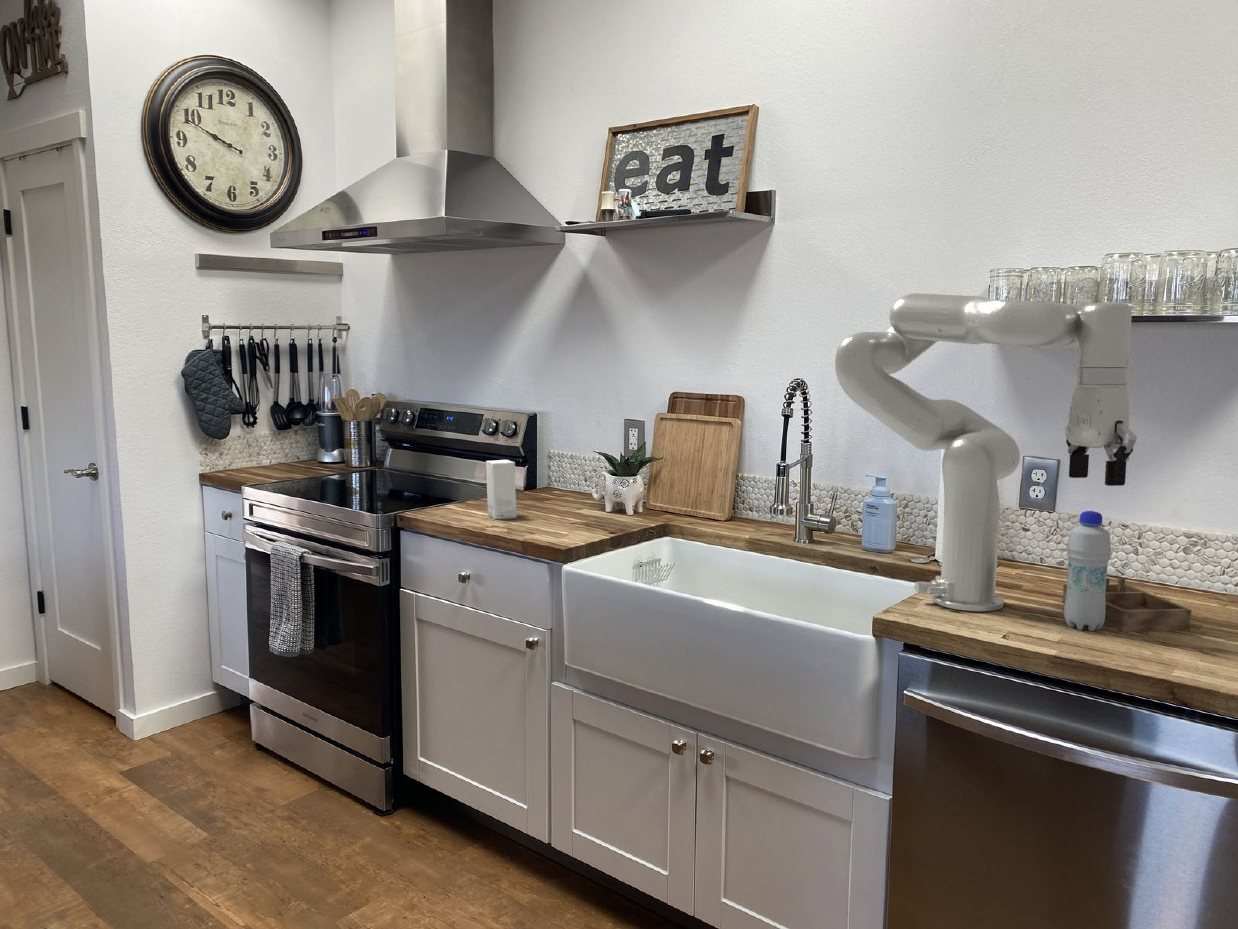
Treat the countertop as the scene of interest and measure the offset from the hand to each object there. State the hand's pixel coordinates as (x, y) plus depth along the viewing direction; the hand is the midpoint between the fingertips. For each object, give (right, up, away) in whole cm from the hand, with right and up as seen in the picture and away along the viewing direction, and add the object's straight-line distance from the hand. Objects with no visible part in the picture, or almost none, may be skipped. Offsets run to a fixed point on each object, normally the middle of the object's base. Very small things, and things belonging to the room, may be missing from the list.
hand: (1095, 481), depth 157 cm
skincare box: (-113, -12, +103) cm, 153 cm away
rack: (+9, -24, +9) cm, 27 cm away
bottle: (-1, -25, +2) cm, 25 cm away
